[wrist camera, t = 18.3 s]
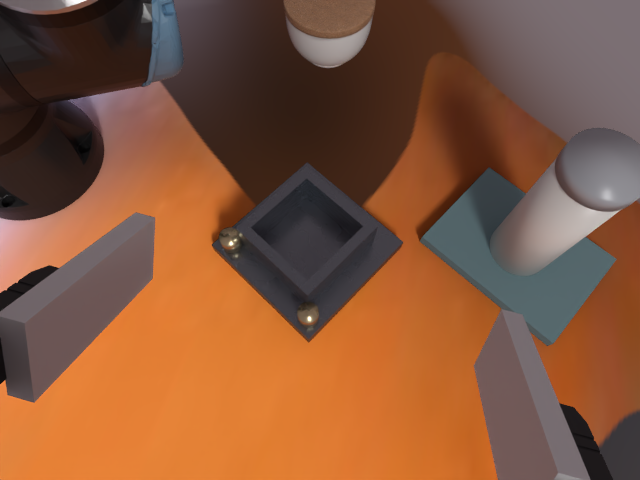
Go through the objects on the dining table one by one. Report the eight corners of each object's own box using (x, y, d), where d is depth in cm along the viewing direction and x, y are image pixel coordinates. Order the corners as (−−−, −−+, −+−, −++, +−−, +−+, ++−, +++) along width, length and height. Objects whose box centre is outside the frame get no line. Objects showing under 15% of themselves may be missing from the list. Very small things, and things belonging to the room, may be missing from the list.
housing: (214, 250, 48) (202, 228, 43) (307, 169, 52) (306, 140, 47) (308, 342, 44) (307, 330, 39) (400, 247, 49) (410, 225, 43)
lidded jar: (318, 9, 63) (318, -59, 54) (383, 43, 60) (395, -23, 52) (270, 57, 59) (262, -8, 51) (338, 95, 57) (342, 33, 48)
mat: (419, 241, 49) (422, 236, 48) (485, 172, 52) (488, 167, 51) (547, 345, 44) (553, 343, 43) (609, 263, 48) (616, 259, 47)
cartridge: (476, 249, 47) (548, 163, 33) (510, 211, 49) (593, 114, 34) (527, 289, 45) (626, 217, 31) (560, 248, 47) (669, 162, 33)
